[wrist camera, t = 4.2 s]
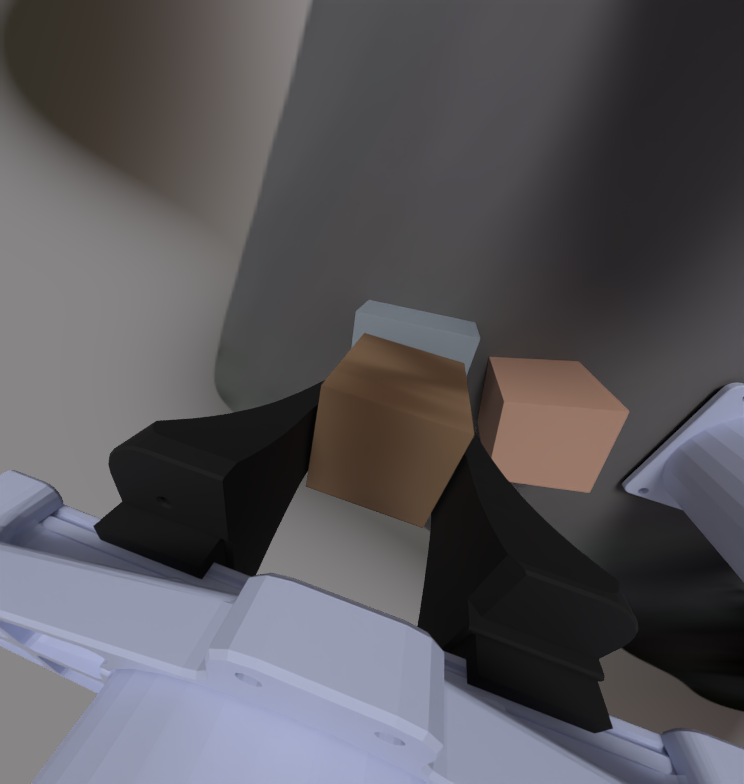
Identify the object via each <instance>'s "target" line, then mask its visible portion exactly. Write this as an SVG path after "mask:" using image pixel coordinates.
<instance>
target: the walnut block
mask: <svg viewBox="0 0 744 784" xmlns="http://www.w3.org/2000/svg"><path fill="white" fill-rule="evenodd" d="M473 437H474V428H473V421H472V414H471V407H470V399H469V392H468V385H467V378H466V371H465V364H464V363H462V362H459V361H455V360H452V359H449V358H445V357H442V356H439V355H436V354H432V353H429V352H426V351H422V350H419V349H416V348H413V347H409V346H406V345H403V344H400V343H396V342H393V341H390V340H386V339H383V338H380V337H377V336H373V335H370V334H367V333H364V334H363V335H362V336H361V337H360V339H359V340H358V341H357V342H356V344H355V345H354V346H353V347H352V348H351V350H350V351H349V352H348V353H347V354H346V356H345V357H344V358H343V359H342V361H341V362H340V363H339V364H338V365H337V367H336V368H335V369H334V370H333V372H332V373H331V374H330V375H329V376H328V378H327V379H326V380H325V381H324V382H323V384H322V385H321V390H320V397H319V404H318V410H317V417H316V423H315V430H314V436H313V443H312V450H311V456H310V463H309V469H308V476H307V483H306V487H309V488H312V489H314V490H317V491H320V492H323V493H326V494H329V495H331V496H334V497H337V498H340V499H343V500H345V501H348V502H351V503H354V504H357V505H359V506H362V507H365V508H368V509H371V510H373V511H376V512H379V513H382V514H385V515H388V516H390V517H393V518H396V519H399V520H402V521H404V522H407V523H410V524H413V525H416V526H418V527H421V528H423V527H424V525H425V523H426V521H427V519H428V518H429V516H430V514H431V512H432V510H433V509H434V507H435V505H436V503H437V501H438V500H439V498H440V496H441V494H442V492H443V491H444V489H445V487H446V485H447V483H448V482H449V480H450V478H451V476H452V474H453V473H454V471H455V469H456V467H457V465H458V464H459V462H460V460H461V458H462V456H463V455H464V453H465V451H466V449H467V447H468V446H469V444H470V442H471V440H472V438H473Z"/></svg>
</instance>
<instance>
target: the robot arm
mask: <svg viewBox="0 0 744 784" xmlns="http://www.w3.org/2000/svg"><path fill="white" fill-rule="evenodd" d="M324 381H325V380H324ZM324 381H322V382H320V383H318V384H316V385H314V386H312V387H310V388H308V389H306V390H304V391H301V392H299V393H297V394H294V395H292V396H289V397H287V398H285V399H282V400H279V401H277V402H274V403H270V404H267V405H264V406H260V407H257V408H253V409H248V410H244V411H239V412H235V413H230V414H224V415H217V416H210V417H202V418H193V419H180V420H179V419H178V420H166V421H165V420H163V421H156V422H154V423H153V424H151V425H150V426H148V427H147V428H145V429H144V430H142V431H140V432H139V433H138V434H136V435H135V436H133V437H131V438H130V439H128V440H127V441H125V442H124V443H122V444H121V445H119V446H118V447H116V448H115V449H114V450H113V451H112V452H111V453H110V457H109V468H110V472H111V475H112V477H113V480H114V482H115V484H116V487H117V489H118V492H119V494H120V496H121V499H122V501H123V502H121V503H120V504H119V505H118V506H117V507H115V508H114V509H113V510H112V511H111V512H109V513H108V514H107V515H106V516H105V517H103V518H102V519H100V518H97V517H95V516H92V515H90V514H87V513H84V512H82V511H79V510H77V509H74V508H72V507H69V506H66V505H64V504H63V500H62V497H61V496H60V494H59V492H58V491H57V490H56V489H55V488H54V487H52V486H51V485H50V484H48V483H46V482H44V481H41V480H39V479H36V478H34V477H31V476H28V475H26V474H23V473H21V472H18V471H15V470H9V471H7V472H5V473H3V474H1V475H0V646H1V647H2V648H4V649H7V650H9V651H11V652H13V653H15V654H17V655H19V656H21V657H23V658H25V659H27V660H29V661H31V662H33V663H36V664H38V665H40V666H42V667H44V668H46V669H48V670H50V671H52V672H54V673H56V674H58V675H60V676H62V677H64V678H66V679H68V680H70V681H72V682H75V683H77V684H79V685H81V686H83V687H85V688H87V689H89V690H91V691H93V692H95V693H97V694H98V695H97V696H96V697H95V699H94V700H93V701H92V703H91V704H90V705H89V707H88V708H87V709H86V711H85V712H84V713H83V714H82V716H81V717H80V719H79V720H78V721H77V722H76V724H75V725H74V726H73V728H72V729H71V731H70V732H69V733H68V735H67V736H66V737H65V738H64V740H63V741H62V742H61V744H60V745H59V747H58V748H57V749H56V750H55V752H54V753H53V754H52V756H51V757H50V758H49V760H48V761H47V762H46V764H45V765H44V766H43V768H42V769H41V770H40V772H39V773H38V774H37V776H36V777H35V778H34V780H33V781H32V782H31V784H744V747H741V746H738V745H736V744H733V743H730V742H728V741H725V740H723V739H720V738H717V737H715V736H712V735H709V734H707V733H704V732H701V731H698V730H694V729H688V728H675V729H671V730H667V731H665V732H663V733H662V735H660V734H658V733H655V732H653V731H650V730H648V729H645V728H642V727H640V726H637V725H635V724H632V723H629V722H627V721H624V720H621V719H619V718H616V717H614V716H611V715H609V714H608V712H607V708H606V705H605V702H604V699H603V696H602V693H601V690H600V687H599V684H598V681H603V680H604V673H603V670H602V667H601V665H600V662H599V658H601V657H603V656H605V655H607V654H609V653H611V652H613V651H616V650H618V649H620V648H622V647H624V646H625V645H627V644H628V643H629V642H631V641H632V640H633V639H634V637H635V635H636V633H637V632H638V621H637V619H636V617H635V615H634V613H633V611H632V609H631V607H630V605H629V603H628V601H627V599H626V597H625V595H624V593H623V591H622V589H621V586H620V584H619V582H618V581H617V580H616V579H615V578H614V577H612V576H611V575H610V574H609V573H607V572H606V571H605V570H603V569H602V568H601V567H600V566H598V565H597V564H596V563H594V562H593V561H592V560H591V559H589V558H588V557H587V556H586V555H584V554H583V553H582V552H580V551H579V550H578V549H577V548H576V547H574V546H573V545H572V544H571V543H570V542H569V541H568V540H566V539H565V538H564V537H563V536H562V535H561V534H559V533H558V532H557V531H556V530H555V529H554V528H553V527H552V526H551V525H550V524H549V523H547V522H546V521H545V520H544V519H543V518H542V517H541V516H540V515H539V514H538V513H537V512H536V511H535V510H534V509H533V508H532V507H531V506H530V505H529V504H528V503H527V502H526V500H525V499H524V498H523V497H522V496H521V495H520V494H519V493H518V492H517V490H516V489H515V488H514V487H513V486H512V485H511V483H510V482H509V481H508V480H507V479H506V477H505V476H504V475H503V473H502V472H501V471H500V469H499V468H498V467H497V465H496V464H495V463H494V461H493V460H492V458H491V457H490V455H489V454H488V452H487V451H486V449H485V448H484V446H483V445H482V443H481V442H480V440H479V438H478V437H477V435H476V433H475V432H474V437H473V438H472V440H471V442H470V444H469V446H468V447H467V449H466V451H465V453H464V455H463V456H462V458H461V460H460V462H459V464H458V465H457V467H456V469H455V471H454V473H453V474H452V476H451V478H450V480H449V482H448V483H447V485H446V487H445V489H444V491H443V492H442V494H441V496H440V498H439V500H438V501H437V503H436V505H435V507H434V509H433V510H432V512H431V532H430V541H429V551H428V558H427V566H426V573H425V581H424V588H423V595H422V601H421V608H420V615H419V620H418V626H415V625H413V624H411V623H409V622H407V621H405V620H403V619H400V618H397V617H395V616H392V615H389V614H387V613H384V612H382V611H379V610H376V609H374V608H371V607H368V606H366V605H363V604H360V603H358V602H355V601H353V600H350V599H347V598H345V597H342V596H340V595H337V594H334V593H332V592H329V591H326V590H324V589H321V588H319V587H316V586H313V585H311V584H308V583H305V582H303V581H300V580H297V579H294V578H291V577H287V576H282V575H278V574H274V573H268V574H260V575H256V573H257V571H258V569H259V567H260V565H261V562H262V560H263V558H264V556H265V554H266V551H267V550H268V547H269V545H270V543H271V541H272V539H273V537H274V535H275V533H276V530H277V528H278V526H279V524H280V522H281V520H282V518H283V516H284V514H285V512H286V510H287V508H288V506H289V504H290V502H291V500H292V498H293V496H294V494H295V492H296V490H297V488H298V486H299V484H300V483H301V481H302V479H303V478H304V476H305V474H306V473H307V471H308V469H309V463H310V456H311V450H312V443H313V436H314V430H315V423H316V417H317V410H318V404H319V397H320V390H321V385H322V384H323V382H324ZM743 397H744V384H743V383H731V384H728V385H726V386H725V387H723V388H722V389H721V390H720V391H719V392H717V393H716V394H715V395H714V396H713V397H712V398H711V399H710V400H709V401H708V402H707V403H706V404H705V405H704V406H703V407H702V408H701V409H700V410H698V411H697V412H696V413H695V414H694V415H693V416H692V417H691V418H690V419H689V420H688V421H687V422H686V423H685V424H684V425H683V426H682V427H681V428H679V429H678V430H677V431H676V432H675V433H674V434H673V435H672V436H671V437H670V438H669V439H668V440H667V441H666V442H665V443H664V444H663V445H662V446H660V447H659V448H658V449H657V450H656V451H655V452H654V453H653V454H652V455H651V456H650V457H649V458H648V459H647V460H646V461H645V462H644V463H643V464H641V465H640V466H639V467H638V468H637V469H636V470H635V471H634V472H633V473H632V474H631V475H630V476H629V477H628V478H627V479H626V480H625V481H624V482H623V483H622V486H623V488H624V489H625V491H626V492H628V493H631V494H634V495H637V496H640V497H643V498H646V499H649V500H652V501H656V502H659V503H662V504H665V505H668V506H671V507H674V508H677V509H680V510H683V511H684V512H685V513H686V514H687V516H688V517H689V518H690V519H691V520H692V522H693V523H694V524H695V525H696V526H697V527H698V529H699V530H700V531H701V532H702V533H703V535H704V536H705V537H706V538H707V539H708V540H709V542H710V543H711V544H712V545H713V546H714V548H715V549H716V550H717V551H718V552H719V553H720V555H721V556H722V557H723V558H724V559H725V561H726V562H727V563H728V564H729V565H730V566H731V568H732V569H733V570H734V571H735V572H736V574H737V575H738V576H739V577H740V578H741V580H742V581H743V582H744V398H743ZM641 488H642V489H641Z"/></svg>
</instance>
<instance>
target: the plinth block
mask: <svg viewBox="0 0 744 784" xmlns="http://www.w3.org/2000/svg"><path fill="white" fill-rule="evenodd" d="M364 333H367V334H370V335H373V336H377V337H380V338H383V339H386V340H390V341H393V342H396V343H400V344H403V345H406V346H409V347H413V348H416V349H419V350H422V351H426V352H429V353H432V354H436V355H439V356H442V357H445V358H449V359H452V360H455V361H459V362H462V363H464V364H465V371H466V376H467V373H468V371H469V368H470V365H471V363H472V360H473V357H474V355H475V352H476V349H477V346H478V344H479V341H480V335H479V332H478V329H477V326H476V323H475V322H471V321H466V320H461V319H457V318H452V317H447V316H442V315H438V314H433V313H428V312H424V311H419V310H414V309H409V308H405V307H400V306H395V305H391V304H386V303H381V302H376V301H372V300H368V301H367V302H366V303H365V304H364V305H363V306H361V307H360V308H359V309H358V310H357V311H356V315H355V323H354V331H353V340H352V347H353V346H354V345H355V344H356V342H357V341H358V340H359V339H360V337H361V336H362V335H363V334H364Z"/></svg>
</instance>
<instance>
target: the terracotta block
mask: <svg viewBox="0 0 744 784" xmlns="http://www.w3.org/2000/svg"><path fill="white" fill-rule="evenodd" d="M629 412H630V411H629V410H628V409H627V408H626V407H625V406H624V405H623V404H622V403H620V402H619V401H618V400H617V399H616V398H615V397H614V396H613V395H612V394H611V393H610V392H609V391H608V390H607V389H606V388H605V387H604V386H603V385H602V384H601V383H600V382H599V381H598V380H597V379H596V378H595V377H594V376H593V375H592V374H591V373H590V372H589V371H588V370H587V369H586V368H585V367H584V366H583V365H582V364H581V363H580V362H579V361H564V360H544V359H524V358H504V357H489V360H488V366H487V371H486V377H485V383H484V388H483V394H482V399H481V405H480V410H479V416H478V421H477V422H478V428H479V434H480V441H481V443H482V445H483V446H484V448H485V449H486V451H487V452H488V454H489V455H490V457H491V458H492V460H493V461H494V463H495V464H496V465H497V467H498V468H499V469H500V471H501V472H502V473H503V475H504V476H505V477H506V479H507V480H508V481H509V482H514V483H522V484H529V485H536V486H544V487H551V488H558V489H565V490H573V491H580V492H587V493H590V491H591V489H592V487H593V485H594V483H595V481H596V479H597V477H598V475H599V473H600V471H601V469H602V467H603V465H604V463H605V461H606V459H607V456H608V454H609V452H610V450H611V448H612V446H613V444H614V442H615V440H616V438H617V436H618V434H619V432H620V430H621V428H622V426H623V424H624V422H625V420H626V418H627V416H628V414H629Z"/></svg>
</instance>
